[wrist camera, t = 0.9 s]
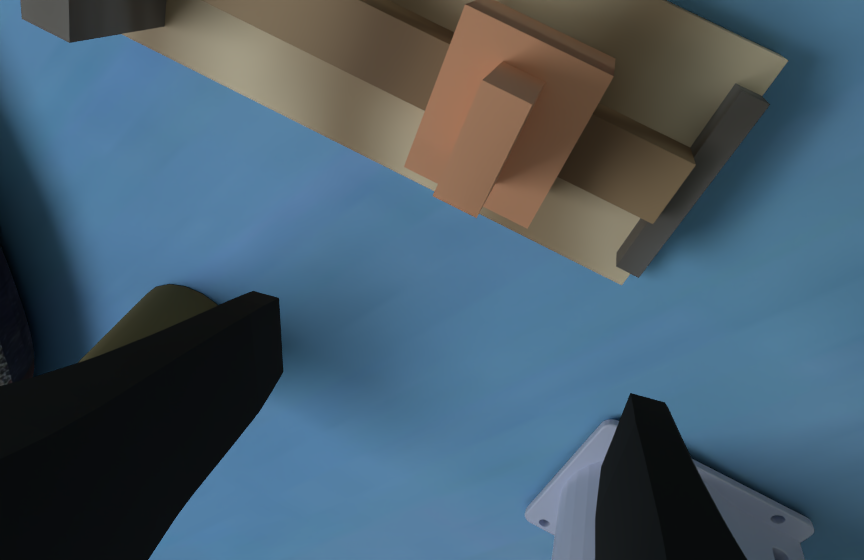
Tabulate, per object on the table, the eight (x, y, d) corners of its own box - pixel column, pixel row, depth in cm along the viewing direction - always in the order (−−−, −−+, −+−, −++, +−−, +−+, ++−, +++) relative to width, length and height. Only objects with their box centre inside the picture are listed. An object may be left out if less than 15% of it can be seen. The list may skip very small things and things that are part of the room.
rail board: (779, 54, 15) (835, 93, 11) (621, 271, 20) (620, 355, 16) (152, -245, 16) (-9, -310, 12) (138, 29, 21) (18, 49, 17)
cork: (169, 262, 26) (-67, 426, 17) (265, 347, 27) (89, 544, 18) (125, 323, 30) (-94, 488, 21) (212, 397, 31) (40, 585, 22)
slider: (615, 58, 15) (612, 98, 11) (539, 195, 18) (513, 268, 14) (487, -4, 16) (437, 13, 11) (430, 141, 18) (372, 197, 14)
